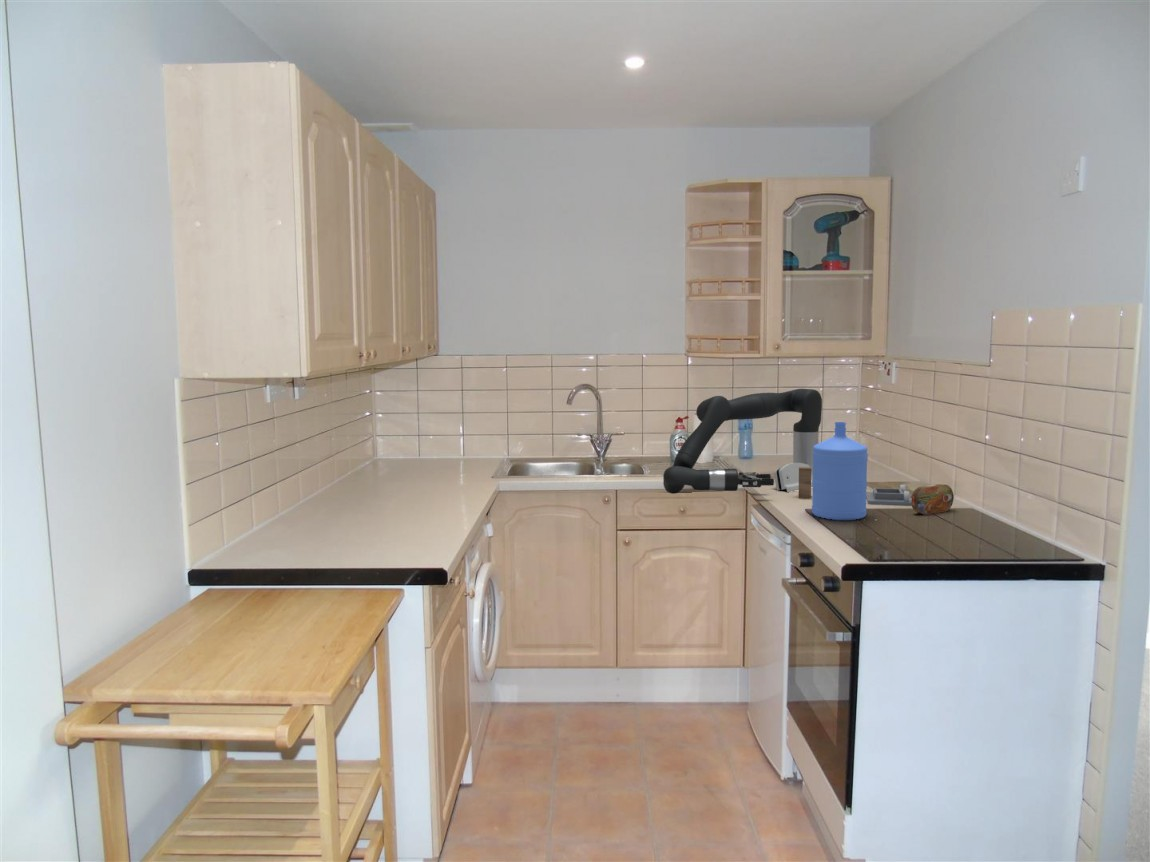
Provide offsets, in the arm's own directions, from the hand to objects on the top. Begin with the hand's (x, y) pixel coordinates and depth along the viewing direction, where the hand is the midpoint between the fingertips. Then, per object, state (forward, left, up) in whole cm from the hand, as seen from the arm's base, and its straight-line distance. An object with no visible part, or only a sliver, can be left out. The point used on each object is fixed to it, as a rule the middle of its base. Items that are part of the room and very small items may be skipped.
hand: (772, 479), depth 269 cm
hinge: (-18, +7, -6) cm, 20 cm away
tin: (+14, +48, -6) cm, 50 cm away
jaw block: (-2, +11, -6) cm, 12 cm away
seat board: (-2, +37, -6) cm, 37 cm away
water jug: (+23, +21, -6) cm, 32 cm away
